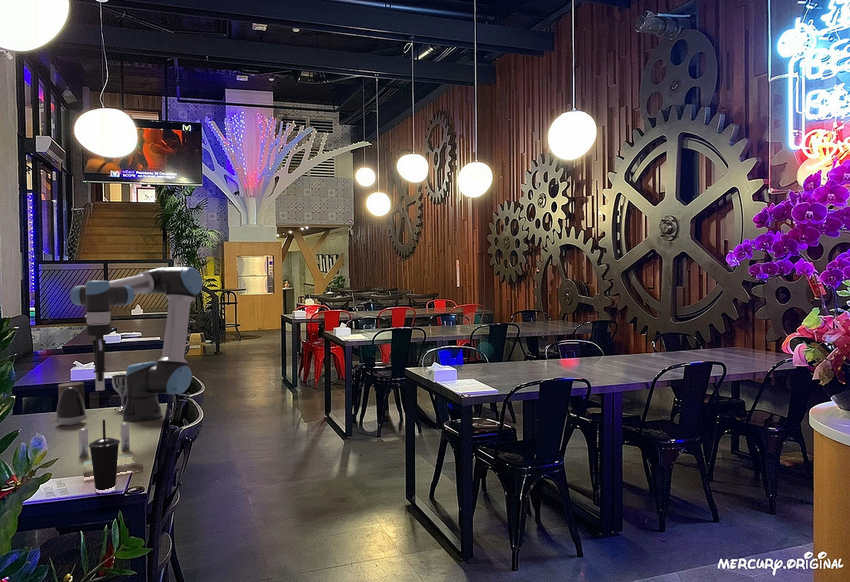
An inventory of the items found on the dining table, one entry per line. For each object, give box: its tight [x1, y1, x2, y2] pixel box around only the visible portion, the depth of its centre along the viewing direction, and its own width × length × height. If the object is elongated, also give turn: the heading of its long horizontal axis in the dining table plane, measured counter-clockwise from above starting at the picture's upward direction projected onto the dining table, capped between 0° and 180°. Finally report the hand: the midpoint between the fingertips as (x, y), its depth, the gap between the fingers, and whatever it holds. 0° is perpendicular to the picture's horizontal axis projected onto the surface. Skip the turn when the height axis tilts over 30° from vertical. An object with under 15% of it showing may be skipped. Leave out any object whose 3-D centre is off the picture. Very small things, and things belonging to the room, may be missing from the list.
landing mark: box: [82, 453, 132, 467], centre depth 197 cm, size 14×14×1 cm
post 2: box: [120, 422, 131, 452], centre depth 212 cm, size 3×3×9 cm
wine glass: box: [111, 373, 127, 409], centre depth 278 cm, size 8×8×15 cm
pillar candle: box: [57, 380, 86, 408], centre depth 266 cm, size 10×10×15 cm
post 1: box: [78, 427, 89, 458], centre depth 205 cm, size 3×3×9 cm
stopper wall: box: [82, 461, 144, 477], centre depth 185 cm, size 16×2×2 cm, turn 122°
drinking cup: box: [88, 419, 121, 490], centre depth 171 cm, size 8×8×20 cm
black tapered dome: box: [56, 387, 86, 426], centre depth 250 cm, size 10×10×15 cm
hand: (100, 390), depth 219 cm, fingers closed
